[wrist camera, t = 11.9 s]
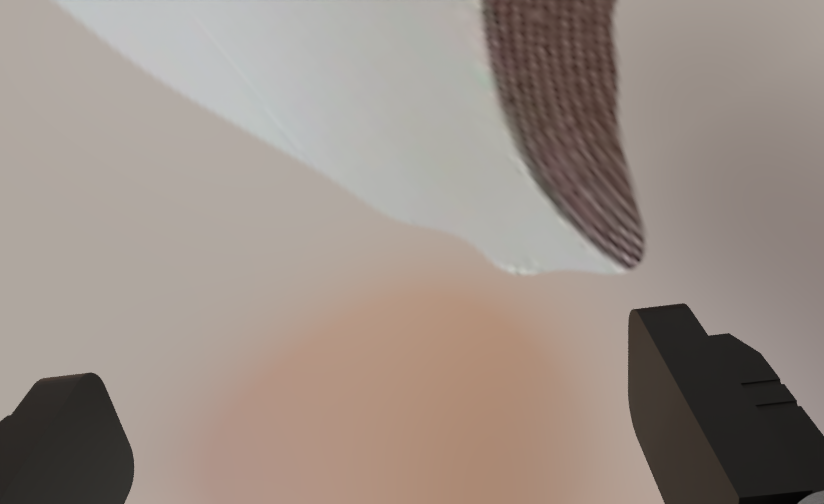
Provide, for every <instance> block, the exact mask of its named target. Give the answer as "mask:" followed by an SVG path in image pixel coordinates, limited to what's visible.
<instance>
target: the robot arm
mask: <svg viewBox="0 0 824 504" xmlns="http://www.w3.org/2000/svg"><path fill="white" fill-rule="evenodd" d="M628 327H629V328H628V399H629V408H630V413H631V418H632V423H633V427H634V430H635V433H636V436H637V439H638V441H639V443H640V446H641V448H642V451H643V453H644V455H645V457H646V460H647V462H648V465H649V467H650V470H651V472H652V474H653V477H654V479H655V481H656V484H657V486H658V489H659V491H660V493H661V496H662V498H663V500H664V502H665V504H824V436H823V434H822V433H821V432H820V430H818V428H817V427H816V425H815V424H814V423H813V421H812V420H811V419H810V417H809V416H808V415H807V414H806V412H805V411H804V410H803V408H802V407H801V406H797V400H796V399H795V398H794V396H793V395H792V394H791V393H790V391H789V390H788V389H787V388H786V386H785V385H784V384H781V382H780V379H779V377H778V376H777V374H776V373H775V372H774V370H773V369H772V368H771V367H770V365H769V364H768V362H767V361H766V360H765V359H764V357H763V356H762V355H761V353H759V352H758V351H756V350H754V349H753V348H751V347H750V346H748V345H747V344H745V343H743V342H742V341H740V340H739V339H737V338H735V337H734V336H732V335H731V334H729V333H728V334H719V335H711V336H708V335H707V333H706V332H705V330H704V329H703V327H702V326H701V324H700V323H699V321H698V320H697V318H696V317H695V316H694V314H693V312H692V311H691V310H690V308H689V307H688V306H687V305H686V304H674V305H666V306H658V307H649V308H641V309H633V310H631V312H630V315H629V325H628ZM133 475H134V459H133V453H132V449H131V446H130V444H129V441H128V439H127V437H126V434H125V432H124V430H123V427H122V425H121V423H120V420H119V418H118V416H117V413H116V411H115V409H114V406H113V404H112V401H111V399H110V397H109V394H108V392H107V390H106V388H105V385H104V383H103V381H102V380H101V378H100V377H99V376H98V375H96V374H94V373H85V374H75V375H67V376H59V377H50V378H43V379H40V380H39V381H37V382H36V383H35V384H34V385H33V387H32V388H31V390H30V391H29V392H28V393H27V395H26V396H25V397H24V399H23V400H22V401H21V403H20V404H19V405H18V407H17V408H16V409H15V411H14V412H13V414H12V415H10V416H7V417H5V418H4V419H3V420H2V421H0V504H124V503H125V500H126V498H127V496H128V494H129V491H130V489H131V486H132V482H133V477H134V476H133Z"/></svg>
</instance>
